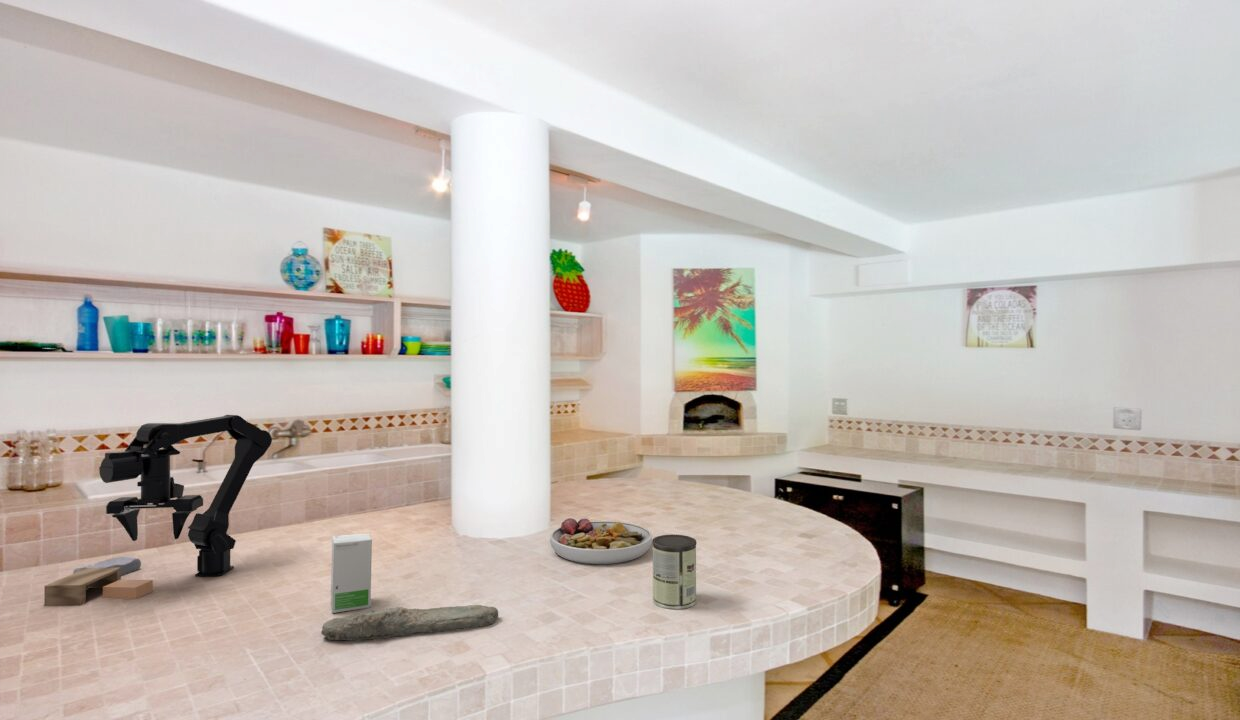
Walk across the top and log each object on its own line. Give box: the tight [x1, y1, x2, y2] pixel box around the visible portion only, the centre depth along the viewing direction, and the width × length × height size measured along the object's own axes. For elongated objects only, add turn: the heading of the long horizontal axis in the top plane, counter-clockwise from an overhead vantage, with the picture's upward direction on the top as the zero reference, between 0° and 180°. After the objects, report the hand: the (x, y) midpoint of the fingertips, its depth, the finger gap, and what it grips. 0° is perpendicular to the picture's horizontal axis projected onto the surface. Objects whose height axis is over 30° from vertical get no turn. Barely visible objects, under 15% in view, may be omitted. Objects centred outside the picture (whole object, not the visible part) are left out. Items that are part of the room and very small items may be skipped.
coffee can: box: [651, 534, 697, 610], centre depth 143 cm, size 10×10×14 cm
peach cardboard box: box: [102, 578, 154, 600], centre depth 146 cm, size 8×5×3 cm, turn 87°
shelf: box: [43, 567, 122, 607], centre depth 146 cm, size 8×12×4 cm, turn 3°
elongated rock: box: [320, 604, 499, 642], centre depth 128 cm, size 35×5×10 cm
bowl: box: [549, 517, 653, 565], centre depth 181 cm, size 30×30×8 cm
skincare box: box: [330, 533, 373, 614], centre depth 140 cm, size 8×7×16 cm
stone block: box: [72, 555, 142, 577], centre depth 160 cm, size 12×5×10 cm
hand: (155, 539), depth 149 cm, fingers open, 9 cm apart
